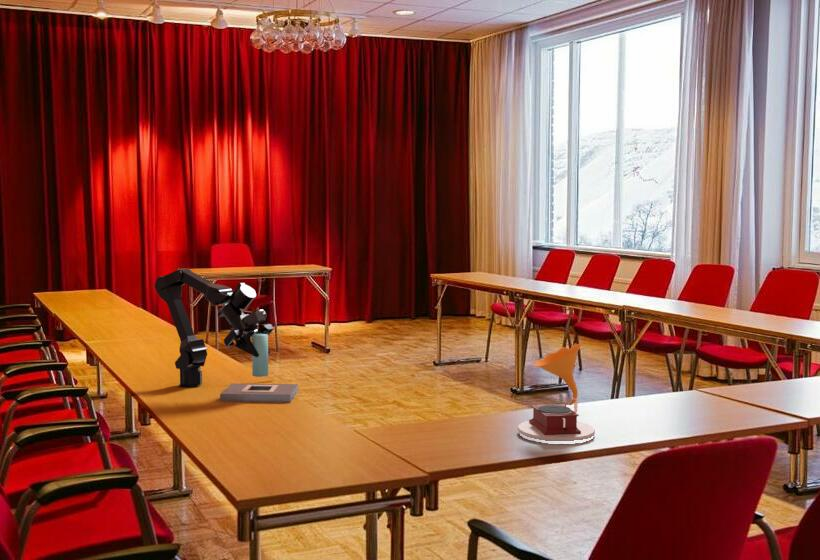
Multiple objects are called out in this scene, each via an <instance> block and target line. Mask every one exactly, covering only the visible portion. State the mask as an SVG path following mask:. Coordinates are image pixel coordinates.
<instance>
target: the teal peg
mask: <svg viewBox="0 0 820 560" xmlns="http://www.w3.org/2000/svg"><path fill="white" fill-rule="evenodd" d="M251 342H252V344H253V346H254V347H255V349H256V350H257V352H258V354H259V356H258V357H255V356H253V355H251V357H252V358H251V359H252V362H251V363H252V365H251V366H252V368H251V369H252V372H251V373H252V377H256V378H257V377H259V378H261V377H268V376H269V355H268V347H269V336H268V334H253V335H252V337H251Z"/></svg>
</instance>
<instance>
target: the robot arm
mask: <svg viewBox="0 0 820 560" xmlns="http://www.w3.org/2000/svg"><path fill="white" fill-rule="evenodd" d="M185 285H187V286H189V287H190V288H192V289H194V290H195V291H197V292H199V293H201V294H202V295H203V296H204V297H205V300H207V302H209V303H210V304H211V305H213V306H222V305H223V307H221V308H218V312H217V317H218V318H222V317H225V319H226V320H227V322H228V323H229V327H228V328H229V329H230V331H229V332H228V333H227V335H226V336H225V337H224V338H223V344H224V346H225V347H226V348H231V347H234V348H235V349H239V350H242V351H243V352H245V353H247V354H250V356H252V355H253V356H255V357H258V356H259V354H258V352H257V350H256V349H255V347H254V346H253V344H252V335H253V334H268V337H269V336H270V335H271V334H272V332H273V331H274V330H275V328H274V327H273V325H272V324H271V323H264V324H261V323H262V322H265V321H266V319H267V317H268V314H267V312H266V311H265V310H264V309H263V308H262V309H258V310H257V311H255V312H252V313H250V314H249V313H247V314H246V313H245V312H244V311H243V310H245V309H247V308H248V307H249V306H250V304H252V302H253V300H254V299H256V297H257V293H256V290H255V289H254V288H253V287H251V286H250V285H248V284H246V283H245V282H239V283H238V284H237V286H236V288H235V289H234V290H233V289H232V288H231V287H230V286H226V285H223V284H220V283H219V284H217V283H213V282H212V281H209V280H208V279H206V278H204V277H202V276H201V275H199V274H197V273H195V272H193V271H192V270H191V269H189V268H188V267H187V268H179V269H178V268H177V270H174V271H172V272H170V273H168V274H165V275H162V276H158V277H157V278H156V280H155V282H154V288H155V291H156V293H157V295H158V297H159V298H161V299H162V300H163V301H164V302H165V303H166V305H167V308H168V311H169V313H170V315H171V318H172V321H173V323H174V326H175V329H176V332H177V335H178V338H179V340H180V344H179V354H180V356H179V357H177V359H176V360H175V362H174V364H175V369H177V370H179V385H178V388H179V387H180V388H194V387H195V388H198V387H200V386H201V385H202V384H203V371H202V370H201V367H204V366H205V364H206V363H205V362H206V359H207V356H208V351H207V350H208V348H207V347H206V344H205V340H204V338H198V337H197V336H196V335H195V333H194V329H193V326H192V324H191V323H190V319H189V317H188V314H187V311H186V309H185V306H184V303H183V301H182V294H183V293H182V292H183V287H182V286H185ZM259 324H261V325H260V326H259ZM258 326H259V327H258ZM256 328H257V329H256ZM234 342H235V343H234ZM270 354H271V351H270V348H269V346H268V356H270Z"/></svg>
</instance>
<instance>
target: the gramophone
mask: <svg viewBox="0 0 820 560" xmlns="http://www.w3.org/2000/svg"><path fill="white" fill-rule="evenodd" d="M582 346H583V342H581V343H577V342H575V343H574V344H573V345H572V346H571V347H570V348H568V347H564V346H561V347H560V348H559V349H558V350H557V351H556V352H552V353H551V352H550V353H546V355H545V356H544V357H543V359H538V360H537V359H536V360H535V363H534V364H532V366H533V367H539V368H540V369H542V370H544V371H546V372H548V373H550V374H553V375H555V376H557V377H558V378H561V379H562V380H563V382H564V383H565V384H566V385H567V386H568V387H569V388H568V389H570V390H571V393H572V397H571V402H569V403H567V401H564V404H563V403H561V404H538V405H537V404H533V405H531V407H532V409H533V412H532V418H531V419H529V420H526V421H522V422H521V423H519V424H518V426H517V432H518V431H519V433H521V434H523V435H525V436H527V437H530V438H534V439H539V440H545V441H574V440H583V439H588V438H591V437H592V436H594V434H596V433H595V432H596V431H595V430H596V429H595V428H594V426H592V425H590V424H588V423H585V422H582V421H577V419H578V417H579V416H580V414H578V413H577V412H578V401H579V399H578V394H579V392H578V388H577V385H576V382H575V379H574V375H573V373H574V367H575V364H576V360H577V357H578V356H577V355H578V354H579V353H578V352H579V351H580V349H581V347H582ZM567 405H568V406H572V405H573V408H574V410H572V409H571V408H570V407H568V406H567Z"/></svg>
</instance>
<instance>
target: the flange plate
mask: <svg viewBox="0 0 820 560" xmlns="http://www.w3.org/2000/svg"><path fill="white" fill-rule="evenodd" d="M297 394H299V384H298V383H237V382H236V383H231V384H230V385H228V386H227V387H226V388H225V389H224V390H223V391H222V392H220V393H219V402H220V403H223V402H227V403H231V402H232V403H291V402H292V400H293V399H294V398H295V397H296V395H297Z"/></svg>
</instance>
